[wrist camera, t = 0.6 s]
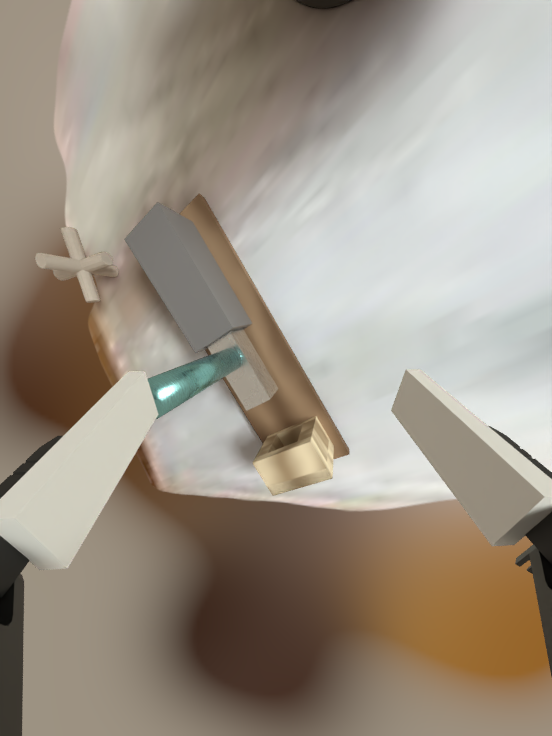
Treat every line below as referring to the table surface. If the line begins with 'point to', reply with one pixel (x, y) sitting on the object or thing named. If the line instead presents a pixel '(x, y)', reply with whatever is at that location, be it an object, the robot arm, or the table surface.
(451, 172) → the table surface
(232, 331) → the bar with teal cylinder
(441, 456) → the robot arm
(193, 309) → the outer sleeve
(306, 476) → the socket block
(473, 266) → the table surface
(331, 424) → the base board
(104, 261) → the pipe connector
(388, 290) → the table surface
